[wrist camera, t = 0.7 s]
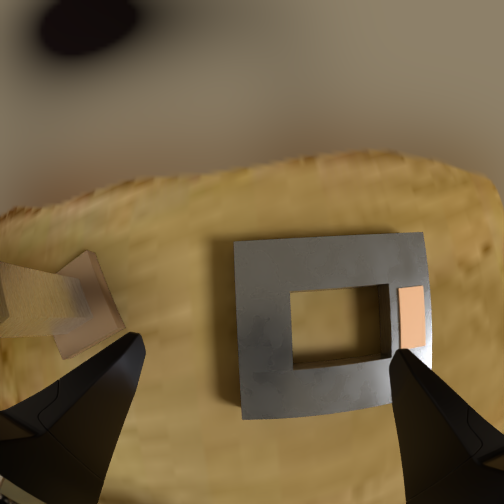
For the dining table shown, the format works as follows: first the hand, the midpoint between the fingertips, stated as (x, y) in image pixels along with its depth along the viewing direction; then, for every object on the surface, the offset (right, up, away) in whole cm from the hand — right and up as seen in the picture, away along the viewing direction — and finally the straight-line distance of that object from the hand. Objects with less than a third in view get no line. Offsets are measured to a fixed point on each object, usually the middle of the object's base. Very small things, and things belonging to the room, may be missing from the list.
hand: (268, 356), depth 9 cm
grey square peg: (-18, -2, +14) cm, 22 cm away
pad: (-17, -2, +15) cm, 23 cm away
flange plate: (+7, -3, +14) cm, 15 cm away
